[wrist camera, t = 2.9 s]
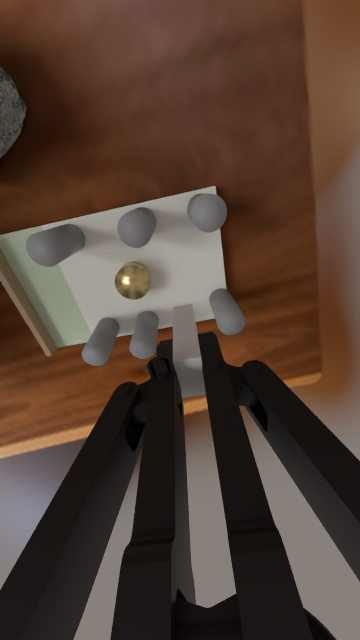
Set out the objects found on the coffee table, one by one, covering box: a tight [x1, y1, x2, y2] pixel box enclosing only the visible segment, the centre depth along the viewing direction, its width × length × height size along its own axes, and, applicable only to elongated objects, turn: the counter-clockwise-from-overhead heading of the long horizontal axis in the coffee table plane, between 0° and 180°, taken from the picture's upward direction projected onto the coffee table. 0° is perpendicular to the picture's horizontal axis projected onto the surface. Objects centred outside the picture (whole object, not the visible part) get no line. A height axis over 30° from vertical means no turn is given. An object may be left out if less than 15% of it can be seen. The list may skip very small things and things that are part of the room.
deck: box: [0, 186, 245, 366], centre depth 28 cm, size 29×17×8 cm, turn 101°
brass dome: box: [115, 262, 151, 300], centre depth 30 cm, size 4×4×2 cm
